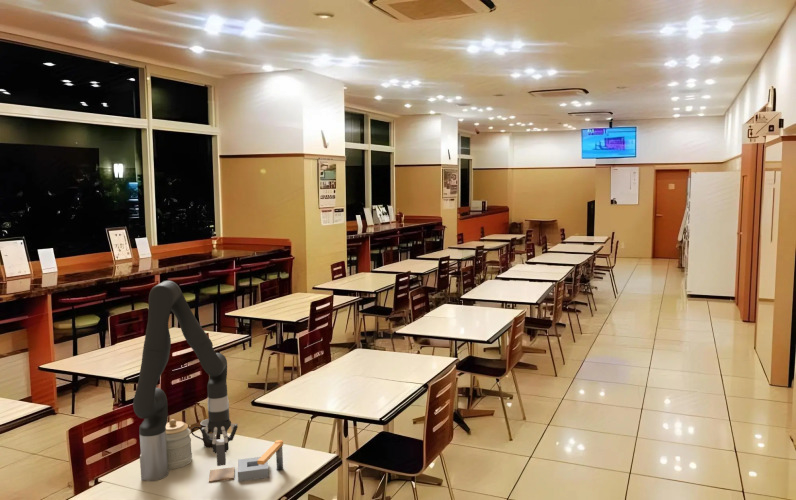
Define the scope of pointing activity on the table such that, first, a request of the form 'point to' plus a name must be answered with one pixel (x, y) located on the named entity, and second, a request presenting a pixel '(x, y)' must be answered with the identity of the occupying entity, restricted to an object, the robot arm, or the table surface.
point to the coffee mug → (204, 424)
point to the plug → (220, 452)
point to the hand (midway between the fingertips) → (220, 451)
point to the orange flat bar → (270, 452)
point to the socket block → (251, 469)
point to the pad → (221, 474)
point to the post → (279, 459)
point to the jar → (178, 444)
